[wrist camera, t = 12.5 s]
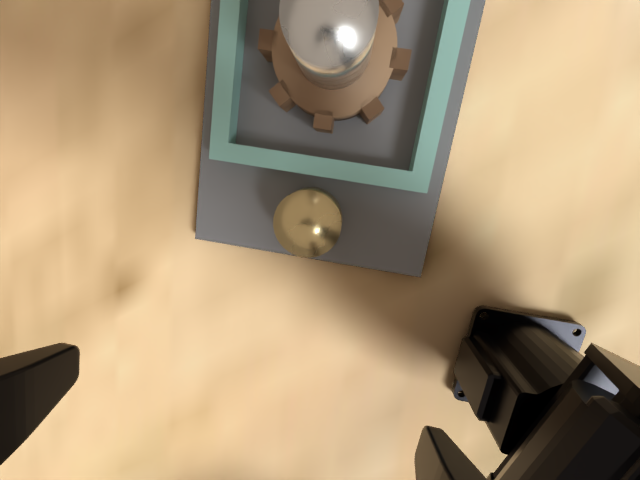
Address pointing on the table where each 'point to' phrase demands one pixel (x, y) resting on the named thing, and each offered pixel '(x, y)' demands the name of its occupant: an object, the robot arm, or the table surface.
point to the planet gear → (334, 57)
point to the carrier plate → (331, 145)
